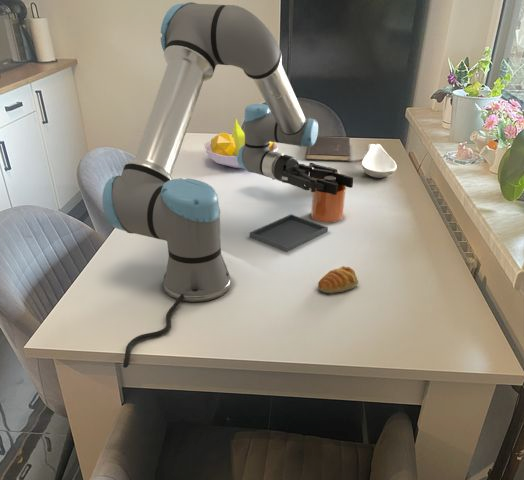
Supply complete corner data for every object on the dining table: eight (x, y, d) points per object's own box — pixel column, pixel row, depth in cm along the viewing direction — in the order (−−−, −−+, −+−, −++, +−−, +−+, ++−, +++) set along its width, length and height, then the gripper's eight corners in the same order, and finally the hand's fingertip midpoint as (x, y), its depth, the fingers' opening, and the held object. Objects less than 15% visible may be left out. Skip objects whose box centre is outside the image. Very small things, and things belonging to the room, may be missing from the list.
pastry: (330, 299, 121) (332, 284, 119) (310, 287, 125) (311, 272, 123) (360, 286, 126) (361, 271, 123) (339, 275, 130) (340, 260, 127)
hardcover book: (349, 143, 216) (349, 137, 215) (349, 161, 198) (349, 155, 197) (309, 142, 218) (309, 136, 217) (305, 159, 200) (305, 153, 198)
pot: (329, 226, 152) (332, 195, 147) (304, 217, 157) (306, 187, 152) (348, 217, 158) (351, 186, 152) (323, 209, 162) (326, 179, 157)
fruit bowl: (273, 176, 186) (273, 141, 179) (196, 171, 189) (193, 137, 182) (283, 151, 208) (284, 120, 201) (214, 148, 211) (212, 117, 204)
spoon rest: (398, 181, 182) (401, 159, 178) (363, 181, 182) (365, 159, 177) (385, 159, 201) (387, 139, 196) (353, 159, 201) (355, 139, 196)
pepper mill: (328, 219, 154) (331, 181, 148) (316, 215, 157) (318, 177, 150) (337, 215, 157) (341, 177, 151) (325, 211, 159) (328, 174, 153)
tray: (286, 253, 139) (286, 247, 138) (249, 238, 146) (249, 232, 145) (327, 233, 149) (327, 227, 148) (290, 219, 156) (290, 214, 155)
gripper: (301, 171, 169) (363, 190, 156) (258, 188, 157) (321, 209, 145) (302, 147, 164) (366, 164, 152) (258, 162, 153) (323, 181, 140)
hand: (344, 186), depth 148 cm, fingers open, 7 cm apart
